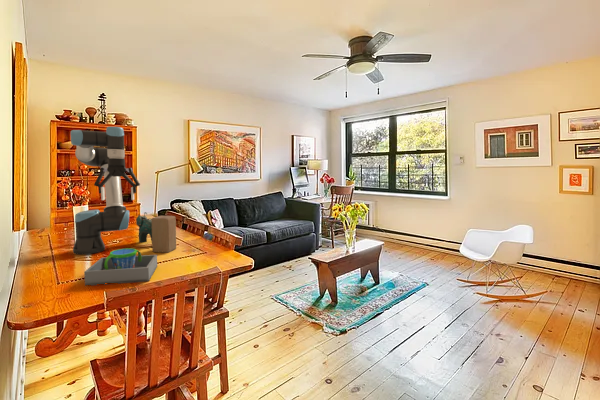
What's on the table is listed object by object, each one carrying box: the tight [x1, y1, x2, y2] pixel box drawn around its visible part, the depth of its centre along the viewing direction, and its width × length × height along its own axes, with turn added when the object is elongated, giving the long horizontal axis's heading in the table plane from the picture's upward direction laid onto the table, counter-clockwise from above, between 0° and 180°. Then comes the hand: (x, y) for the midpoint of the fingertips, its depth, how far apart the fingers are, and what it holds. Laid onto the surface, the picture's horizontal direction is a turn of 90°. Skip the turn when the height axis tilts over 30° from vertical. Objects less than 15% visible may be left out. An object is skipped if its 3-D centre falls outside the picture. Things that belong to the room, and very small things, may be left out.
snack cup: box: [104, 247, 142, 270], centre depth 139 cm, size 16×10×10 cm
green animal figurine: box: [135, 212, 152, 243], centre depth 195 cm, size 20×6×20 cm, turn 55°
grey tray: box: [83, 254, 158, 287], centre depth 139 cm, size 24×20×6 cm
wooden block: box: [150, 215, 177, 254], centre depth 179 cm, size 10×10×20 cm
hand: (118, 199), depth 158 cm, fingers open, 13 cm apart
